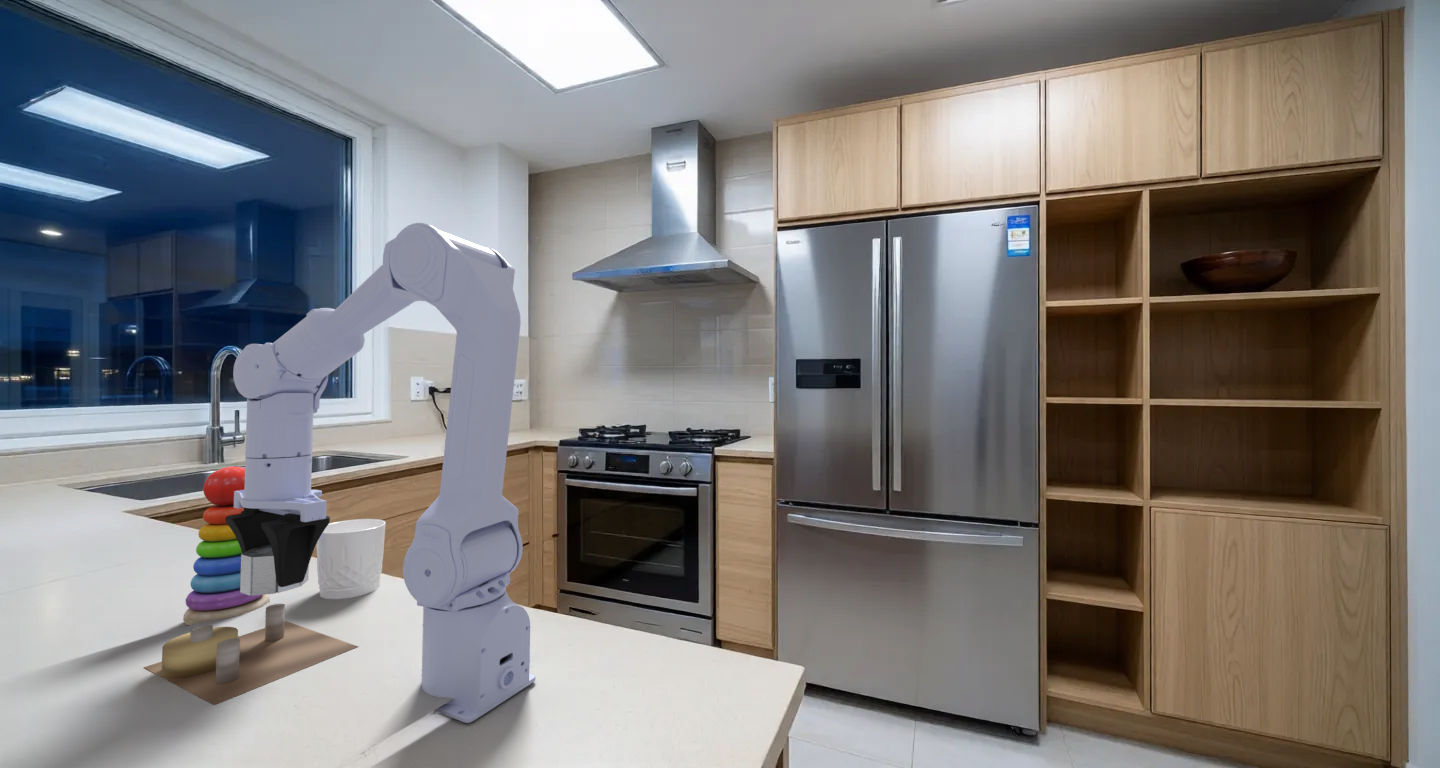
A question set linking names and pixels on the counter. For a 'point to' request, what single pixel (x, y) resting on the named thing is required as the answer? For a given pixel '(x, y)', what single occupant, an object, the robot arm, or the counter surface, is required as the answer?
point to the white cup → (350, 558)
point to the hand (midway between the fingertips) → (276, 579)
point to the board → (242, 656)
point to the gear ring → (261, 573)
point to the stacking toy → (219, 556)
